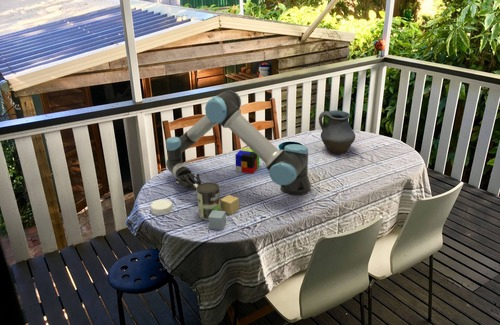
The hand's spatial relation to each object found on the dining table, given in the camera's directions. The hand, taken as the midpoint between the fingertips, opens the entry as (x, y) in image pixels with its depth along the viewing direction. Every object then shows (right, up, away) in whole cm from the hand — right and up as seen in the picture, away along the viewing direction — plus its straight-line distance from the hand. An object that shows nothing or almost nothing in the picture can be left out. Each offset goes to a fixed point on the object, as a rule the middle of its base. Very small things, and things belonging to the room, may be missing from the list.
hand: (200, 191), depth 212 cm
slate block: (+9, -14, -14) cm, 22 cm away
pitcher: (+75, +20, +58) cm, 97 cm away
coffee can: (+5, -10, -5) cm, 12 cm away
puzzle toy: (+22, +10, +39) cm, 46 cm away
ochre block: (+14, -9, -2) cm, 17 cm away
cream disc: (-18, -9, 0) cm, 20 cm away
